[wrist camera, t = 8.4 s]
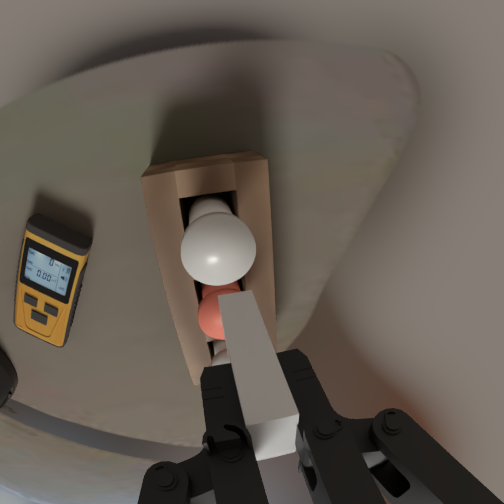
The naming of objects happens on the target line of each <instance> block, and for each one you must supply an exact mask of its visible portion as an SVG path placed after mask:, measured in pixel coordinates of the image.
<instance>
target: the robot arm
mask: <svg viewBox="0 0 504 504" xmlns="http://www.w3.org/2000/svg"><path fill="white" fill-rule="evenodd" d="M218 301H219V307H220V313H221V319H222V325H223V331H224V337H225V342H226V347H227V352H228V357H229V361H230V363H227V364H221V365H215V366H208V367H204V369H203V372H202V374H201V377H200V383H201V391H202V400H203V408H204V416H205V423H206V432H205V433H204V435H203V440H202V445H203V447H204V448H203V450H202V451H201V452H200V453H199V454H198V455H196V456H194V457H192V458H190V459H188V460H185V461H183V462H180V463H178V464H176V463H173V462H170V461H166V462H159V463H156V464H153V465H152V466H151V467H150V468H149V469H147V471H146V473H145V475H144V479H143V483H142V487H141V491H140V496H139V500H138V504H269V503H268V499H267V496H266V493H265V489H264V486H263V482H262V478H261V475H260V471H259V468H258V464H257V460H262V459H267V458H271V457H276V456H280V455H284V454H288V453H292V452H295V450H296V449H297V452H298V454H299V457H300V459H299V465H298V472H299V473H300V472H302V473H303V476H304V478H305V481H306V484H307V487H308V490H309V492H310V495H311V498H312V501H313V503H314V504H386V502H385V501H384V498H383V496H382V495H381V493H382V494H383V495H384V496H385V497H386V498H387V499H388V500H389V502H390V503H391V504H504V503H503V502H502V501H501V500H500V499H498V498H497V497H496V496H495V495H494V494H493V493H492V492H491V491H490V490H489V489H487V488H486V487H485V486H484V485H483V484H482V483H481V482H480V481H479V480H478V479H477V478H475V477H474V476H473V475H472V474H471V473H470V472H469V471H468V470H467V469H466V468H465V467H463V466H462V465H461V464H460V463H459V462H458V461H457V460H456V459H455V458H454V457H453V456H451V455H450V454H449V453H448V452H447V451H446V450H445V449H444V448H443V447H442V446H441V445H440V444H439V443H438V442H436V441H435V440H434V439H433V438H432V437H431V436H430V435H429V434H428V433H427V432H426V431H425V430H424V429H423V428H421V427H420V426H419V425H418V424H417V423H416V422H415V421H414V420H413V419H412V418H411V417H410V416H409V415H408V414H406V413H405V412H403V411H402V410H399V409H394V408H391V409H385V410H383V411H381V412H379V413H378V414H377V415H376V416H375V418H368V419H348V418H345V417H342V416H340V415H339V414H337V413H336V412H335V411H334V410H333V408H332V407H331V405H330V403H329V401H328V399H327V397H326V394H325V392H324V390H323V388H322V386H321V384H320V382H319V380H318V378H317V377H316V374H315V372H314V370H313V369H312V366H311V364H310V362H309V360H308V358H307V356H306V355H304V354H303V353H302V352H301V351H300V350H298V349H293V350H289V351H284V352H280V353H275V350H274V348H273V345H272V343H271V340H270V337H269V335H268V332H267V330H266V327H265V324H264V322H263V319H262V316H261V314H260V311H259V308H258V306H257V303H256V301H255V298H254V295H253V293H252V290H248V291H242V292H236V293H230V294H224V295H218ZM17 383H18V379H17V375H16V372H15V369H14V367H13V366H12V364H11V362H10V361H9V359H8V358H7V357H6V356H5V354H4V353H3V352H2V351H1V350H0V409H1V408H2V406H3V405H4V404H5V403H6V402H7V401H8V400H9V399H10V398H11V397H12V396H13V394H14V391H15V389H16V386H17Z"/></svg>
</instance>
